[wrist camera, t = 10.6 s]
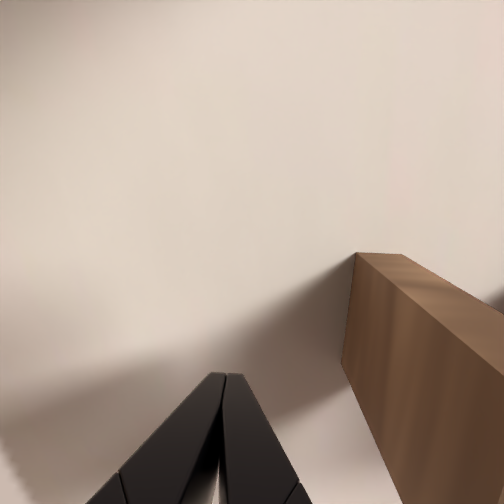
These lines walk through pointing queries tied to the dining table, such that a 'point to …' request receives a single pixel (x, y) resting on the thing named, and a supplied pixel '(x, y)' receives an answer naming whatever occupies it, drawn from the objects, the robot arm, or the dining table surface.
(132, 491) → the robot arm
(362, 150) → the dining table surface
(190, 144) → the dining table surface
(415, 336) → the domino
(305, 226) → the dining table surface
